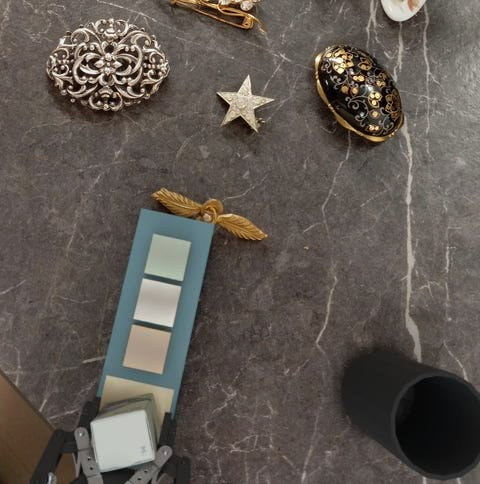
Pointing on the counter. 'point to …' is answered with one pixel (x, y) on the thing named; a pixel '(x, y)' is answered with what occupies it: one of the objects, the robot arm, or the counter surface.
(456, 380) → the vase
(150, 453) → the box
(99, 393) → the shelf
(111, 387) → the block line
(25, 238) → the counter surface
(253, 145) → the counter surface
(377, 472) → the counter surface
